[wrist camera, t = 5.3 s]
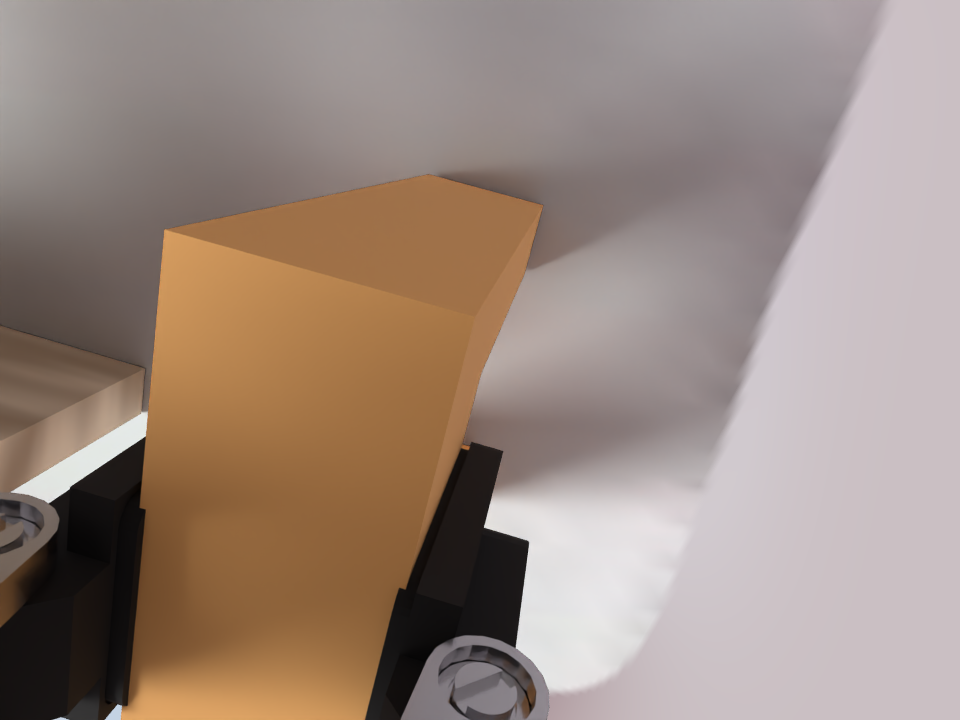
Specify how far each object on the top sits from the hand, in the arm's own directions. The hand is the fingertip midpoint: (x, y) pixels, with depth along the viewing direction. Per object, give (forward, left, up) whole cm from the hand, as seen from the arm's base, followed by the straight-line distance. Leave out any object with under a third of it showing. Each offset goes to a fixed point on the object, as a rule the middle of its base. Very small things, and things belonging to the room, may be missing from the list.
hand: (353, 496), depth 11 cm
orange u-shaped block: (0, 0, -8) cm, 8 cm away
